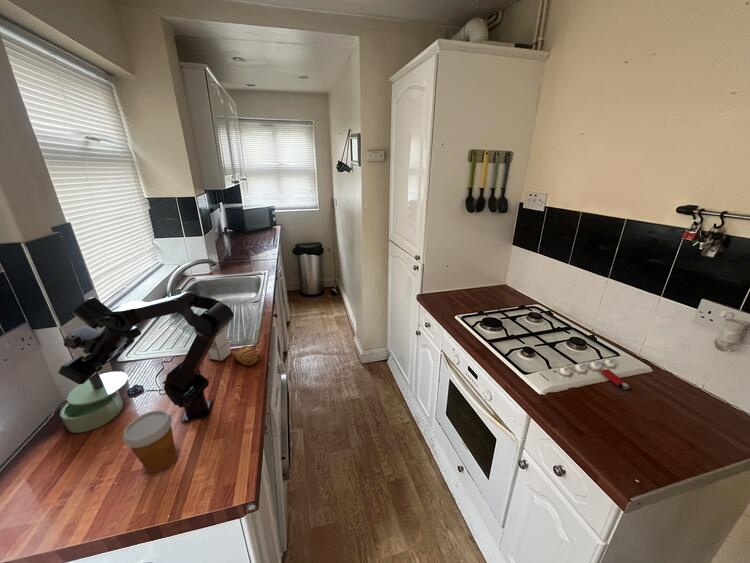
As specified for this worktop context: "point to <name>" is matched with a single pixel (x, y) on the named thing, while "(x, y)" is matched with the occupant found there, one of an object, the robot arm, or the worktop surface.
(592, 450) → the worktop surface
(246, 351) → the pastry
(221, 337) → the syrup box
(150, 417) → the disposable coffee cup
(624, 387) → the lighter
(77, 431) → the pot
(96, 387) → the lid
